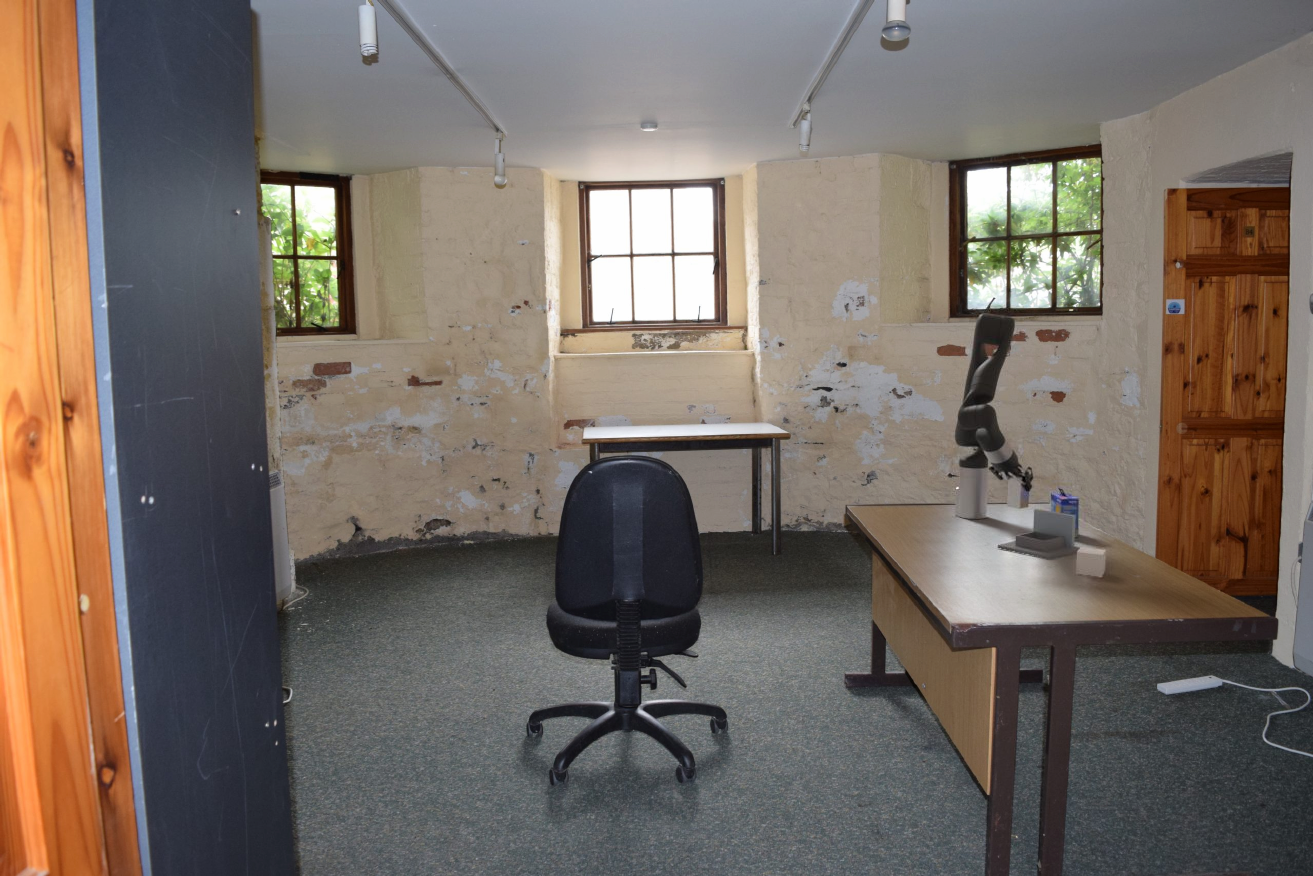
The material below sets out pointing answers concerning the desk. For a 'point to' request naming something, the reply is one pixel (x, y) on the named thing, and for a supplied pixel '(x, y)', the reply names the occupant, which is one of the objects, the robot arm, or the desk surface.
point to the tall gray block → (1017, 494)
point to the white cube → (1090, 561)
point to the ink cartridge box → (1066, 506)
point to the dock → (1047, 536)
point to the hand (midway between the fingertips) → (1022, 488)
